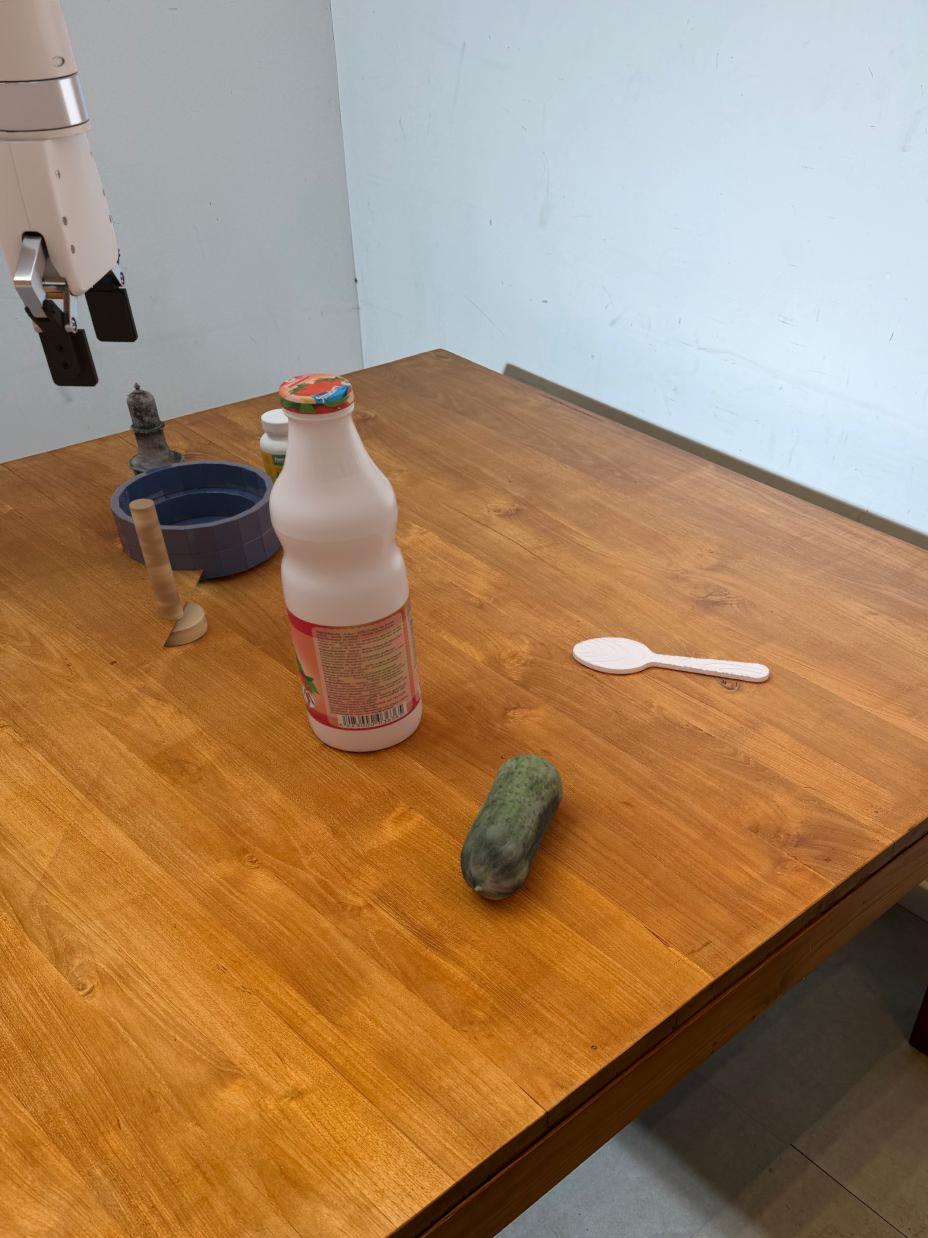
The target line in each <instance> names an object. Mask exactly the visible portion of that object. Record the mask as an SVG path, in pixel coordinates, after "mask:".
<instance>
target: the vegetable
mask: <svg viewBox="0 0 928 1238" xmlns="http://www.w3.org/2000/svg"><path fill="white" fill-rule="evenodd" d="M494 777H495V778H494V779H493V782H492V785H491V787H490V790H489V792H488V794H487V796H485V797H486V798H485V800H484V801H483V803H482V805H481V807H480V809H479V811H478V813H477V814H476V817H475V819H474V820H473V822H472V824H471V826H470V828H469V831H468V832H467V834H466V836H465V839H464V842H463V845H462V847H461V850H460V851H461V852H460V859H459V860H460V861H459V862H460V863H459V864H460V871H461V875H462V877H463V880H464V881H465V883H466V884H467V886H469V888H471V890H473V891H474V892H475V893H477V894H478V895H479V896H480V897H482V898H485V899H489V900H492V901H494V900H495V901H497V900H499V901H500V900H503V899H507V898H509V897H511V896H513V895H514V894H517V893H518V891H519V890H520V889H521V888H522V887H523V886H524V884H525V882H526V880H527V878H528V876H529V873H530V870H531V868H532V865H533V864H534V862H535V858H536V856H537V853H538V851H539V849H540V846H541V844H542V841H543V839H544V837H545V834H546V832H547V831H548V828H549V825H550V823H551V821H552V819H553V817H554V815H555V813H556V812H557V810H558V808H559V806H560V805H561V802H562V799H563V795H564V788H563V787H564V786H563V781H562V777H561V775H560V773H559V771H558V769H557V768H556V767H555V765H554V764H553V763H552V762H551V761H549V760H548V759H546V758H545V757H543V756H541V755H537V754H531V753H526V754H518V755H515V756H512V757H510V758H509V759H507V760H505V761H504V762H503V763H502V764H501V765H500V767H499V768H498V770H497V772H496V775H495V776H494Z"/></svg>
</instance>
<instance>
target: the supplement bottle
mask: <svg viewBox="0 0 928 1238" xmlns="http://www.w3.org/2000/svg"><path fill="white" fill-rule="evenodd" d="M260 420H261V426H262V427H261V428H262V430H263V431H264V434H262V435H261V438H260V440H259V447H260V448H259V449H260V453H261V458H262V461H263V467H264V472H265V473H266V474H267V475H268V476H270V477H271V478H272V479H273V483H275V481H276V479H277V478H278V476H279V475H280V473H281V471H282V469H283V466H284V462H285V457H286V450H287V443H288V430H289V424H288V417H287V416H285V414H284V413H283V411H282V408H277V409H272V410H268V411H266V412H264V413H263V414H262V415H261V416H260Z"/></svg>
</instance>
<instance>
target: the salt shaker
mask: <svg viewBox="0 0 928 1238" xmlns="http://www.w3.org/2000/svg"><path fill="white" fill-rule="evenodd" d="M133 388H134V389H135V390H133V391H131V392H130V393H129V394H128V395H127V397H126V405H127V409H128V412H129V415H130V420H131V424H130V426H129V429H130V431H131V432H132V433H134V437H135V441H136V444H137V453H136V454H135V455H133V456H132V457H131V458H130V459H128V462H127V465H128V467H129V469H131V470H132V471H133V475H134V476H136V475H138V474H141V473H143V472H146V471H148V470H151V469H154V468H158V467H162V466H166V465H170V464H174V463H181V462H185V460H186V458H185V455H184V454H182V452H180V451H177V450H174V449H171V448H170V446H169V444H168V442H167V440H166V436H165V431H164V428H165V427H166V423H165V422H164V421H163V420H161V419H160V414H159V411H158V407H157V404H156V398H155V396H154V395H153V394H152V393H151V392H149V391H147V390H144V389H142V388H141V385H140V384H139V383H138V382H135V383H134V385H133Z"/></svg>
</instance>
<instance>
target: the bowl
mask: <svg viewBox="0 0 928 1238" xmlns="http://www.w3.org/2000/svg"><path fill="white" fill-rule="evenodd" d="M273 485H274V483H273V479H272V478H271V477H270V476H268V475H267V474H266V473H265V470H262V469H260V468H257V467H255V466H252V465H249V464H246V463H242V462H235V461H229V460H216V459H215V460H211V459H207V460H206V459H201V460H200V459H199V460H191V461H184V462H181V463H174V464H170V465H166V466H162V467H158V468H154V469H151V470H148V471H146V472H143V473H141V474H138V475H134V476H131V478H129V479H127V480H126V481H125V482H122V483H121V484H120V485H119V486H118V487H117V488H116V489H115V491H114V492H113V493H112V495H111V496H110V510H111V513H112V516H113V520H114V524H115V526H116V530H117V533H118V534H117V535H118V537H119V541H120V544H121V547H122V551H123V553H126V554H127V555H128V557H129V558H130V559H131V560H134V561H135V562H138V563H139V564H142V565H144V566H146V563H145V560H144V556H143V553H142V549H141V546H140V542H139V539H138V535H137V532H136V528H135V525H134V521H133V518H132V514H131V511H130V507H129V504H130V503H131V502H132V501H134V500H138V499H150V500H152V501H153V502H154V505H155V509H156V513H157V516H158V520H159V524H160V527H161V531H162V535H163V539H164V542H165V546H166V550H167V553H168V557H169V561H170V565H171V568H172V571H202V572H201V574H200V576H199V578H198V581H200V580H211V579H219V578H222V577H228V576H231V575H234V574H237V573H240V572H241V573H242V572H244V571H248V570H250V569H251V568H254V567H256V566H258V565H259V564H261V563H263V562H265V561H268V560H269V559H270V558H271V557H272V556H273V555H274V554H276V552H278V551H279V550H280V548H281V546H282V544H281V543H280V541H279V539H278V537H277V535H276V533H275V530H274V528H273V525H272V522H271V517H270V510H269V499H270V494H271V490H272V488H273Z"/></svg>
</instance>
